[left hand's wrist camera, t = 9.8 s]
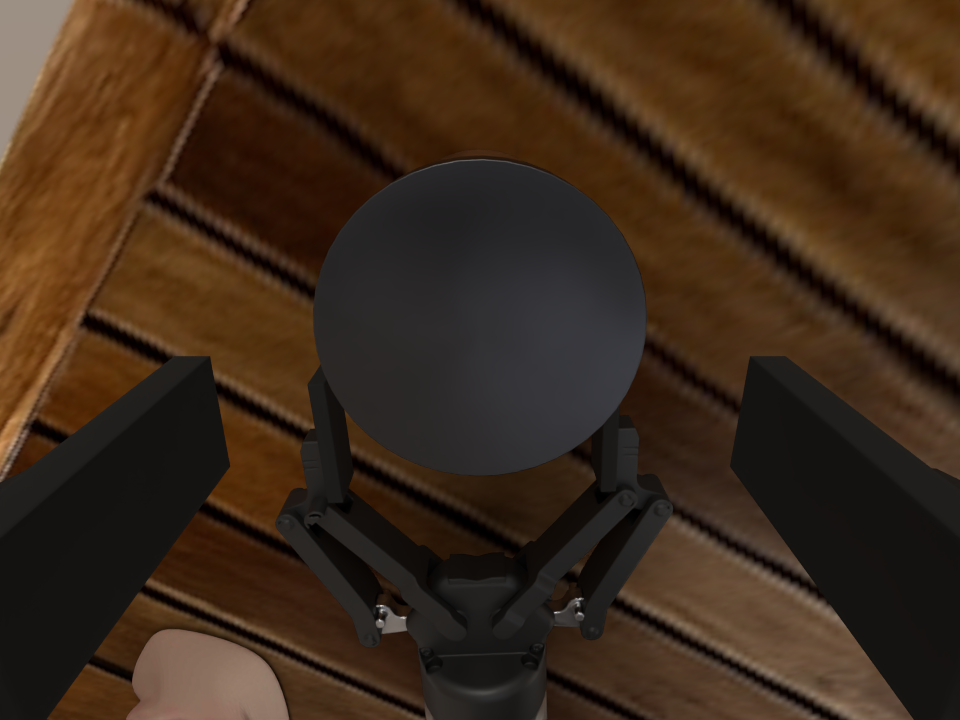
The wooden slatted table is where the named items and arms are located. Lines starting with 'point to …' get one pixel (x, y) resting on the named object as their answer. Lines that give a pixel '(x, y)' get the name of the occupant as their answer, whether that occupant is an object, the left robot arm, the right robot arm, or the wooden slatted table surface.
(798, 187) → the wooden slatted table surface
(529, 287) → the lid
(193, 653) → the anatomical model
